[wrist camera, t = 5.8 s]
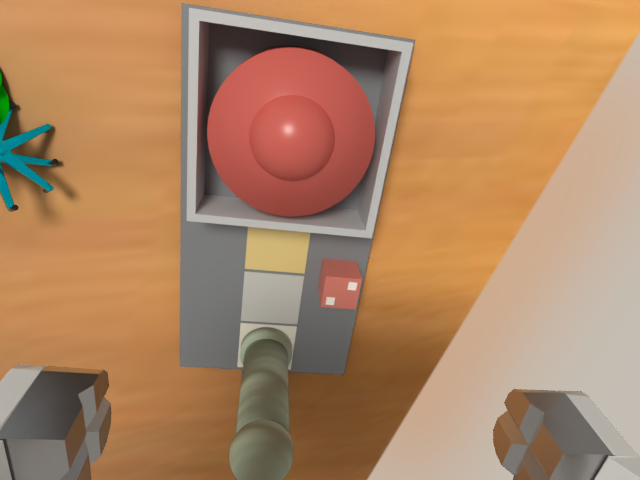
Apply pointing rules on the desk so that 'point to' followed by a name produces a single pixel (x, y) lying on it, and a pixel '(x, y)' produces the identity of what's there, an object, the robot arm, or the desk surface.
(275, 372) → the pawn
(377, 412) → the desk surface
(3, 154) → the stick construction toy
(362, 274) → the game board
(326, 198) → the dome
